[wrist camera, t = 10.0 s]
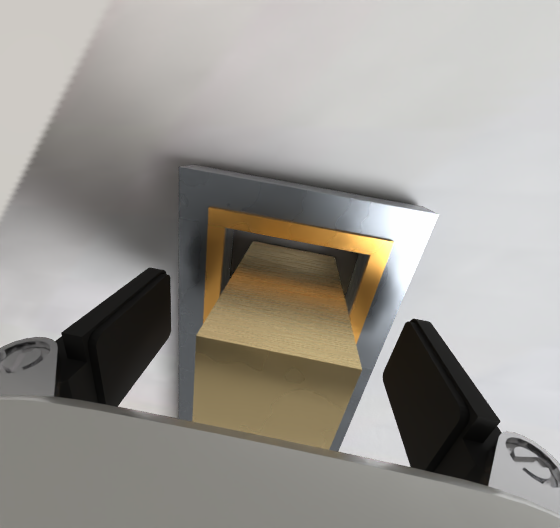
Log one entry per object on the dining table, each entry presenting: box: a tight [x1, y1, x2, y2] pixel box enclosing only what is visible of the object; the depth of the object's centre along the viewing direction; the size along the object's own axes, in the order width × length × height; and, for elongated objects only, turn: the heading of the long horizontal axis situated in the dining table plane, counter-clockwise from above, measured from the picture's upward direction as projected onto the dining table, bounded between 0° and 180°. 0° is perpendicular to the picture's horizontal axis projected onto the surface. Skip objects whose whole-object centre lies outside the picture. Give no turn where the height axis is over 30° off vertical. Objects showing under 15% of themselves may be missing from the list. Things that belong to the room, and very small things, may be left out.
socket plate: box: [179, 165, 439, 452], centre depth 15 cm, size 22×10×2 cm, turn 171°
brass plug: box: [192, 241, 362, 450], centre depth 10 cm, size 4×4×7 cm
